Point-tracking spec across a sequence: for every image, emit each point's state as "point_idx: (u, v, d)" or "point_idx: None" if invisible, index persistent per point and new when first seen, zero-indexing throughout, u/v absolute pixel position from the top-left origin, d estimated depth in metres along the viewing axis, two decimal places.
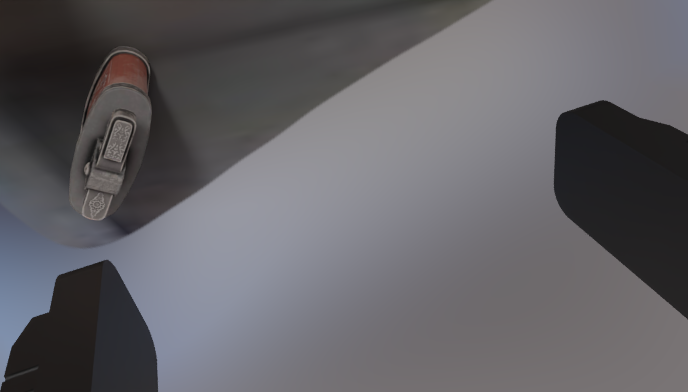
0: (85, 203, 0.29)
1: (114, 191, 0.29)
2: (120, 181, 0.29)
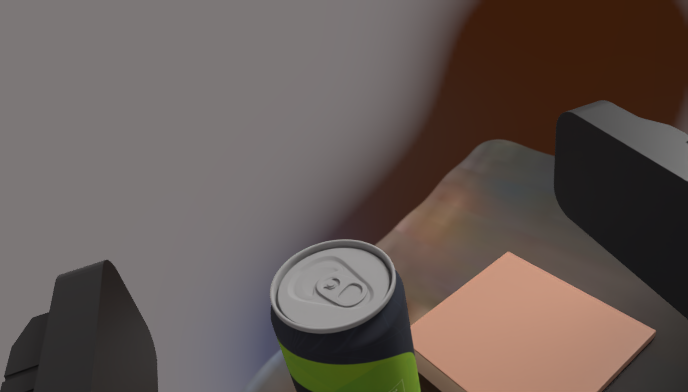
0: None
1: None
2: None
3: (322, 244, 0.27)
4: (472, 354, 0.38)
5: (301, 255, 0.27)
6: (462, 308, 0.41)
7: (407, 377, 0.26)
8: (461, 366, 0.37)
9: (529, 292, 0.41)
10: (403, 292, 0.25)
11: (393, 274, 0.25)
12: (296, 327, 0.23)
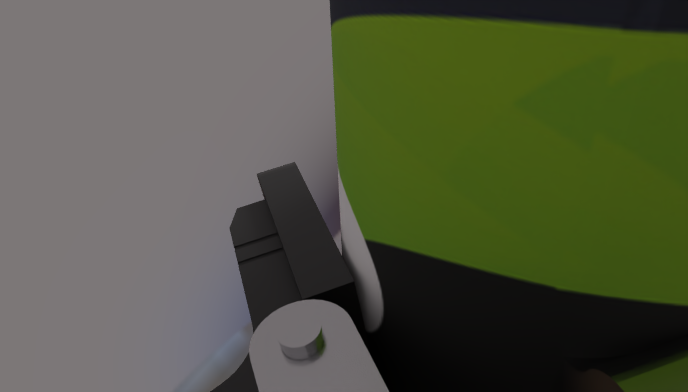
0: None
1: None
2: None
3: None
4: None
5: None
6: None
7: None
8: None
9: None
10: None
11: None
12: None
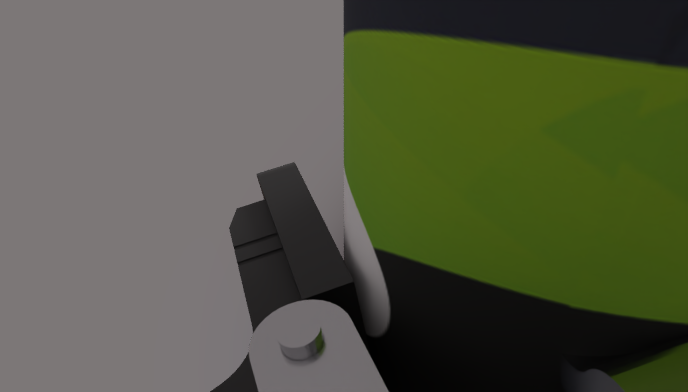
0: None
1: None
2: None
3: None
4: None
5: None
6: None
7: None
8: None
9: None
10: None
11: None
12: None
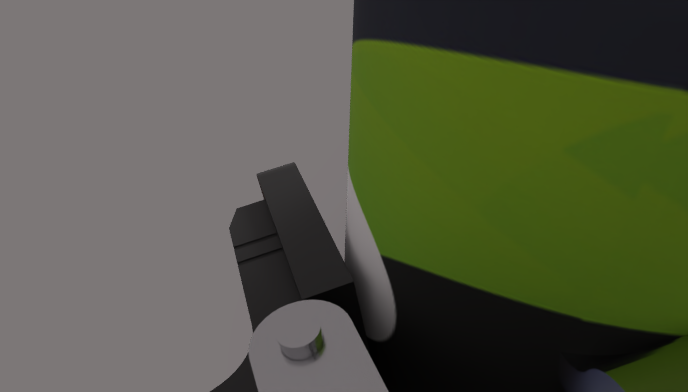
0: None
1: None
2: None
3: None
4: None
5: None
6: None
7: None
8: None
9: None
10: None
11: None
12: None
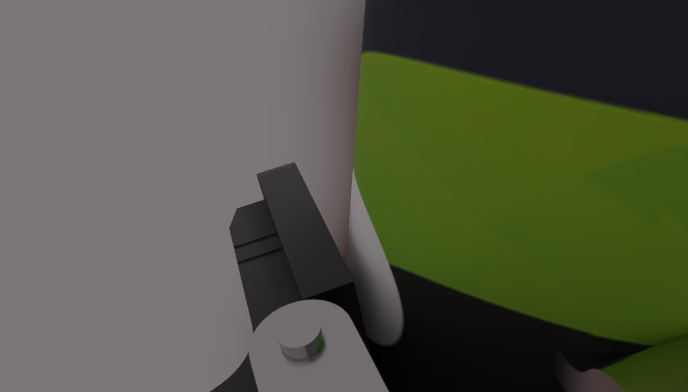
0: None
1: None
2: None
3: None
4: None
5: None
6: None
7: None
8: None
9: None
10: None
11: None
12: None
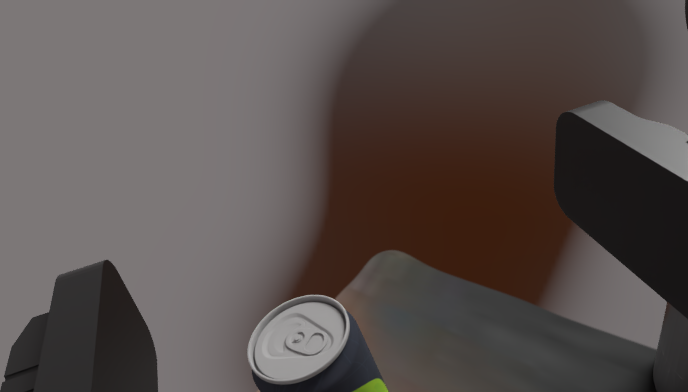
0: None
1: None
2: None
3: (284, 304, 0.32)
4: None
5: (268, 318, 0.32)
6: None
7: None
8: None
9: None
10: (358, 331, 0.30)
11: (346, 318, 0.29)
12: (275, 382, 0.28)
